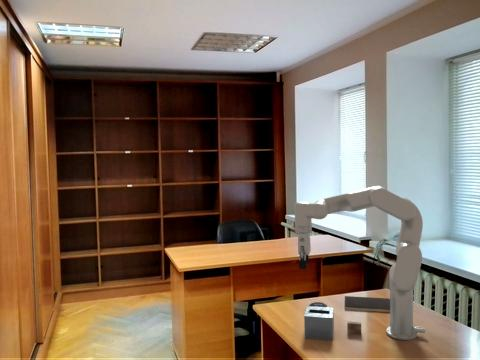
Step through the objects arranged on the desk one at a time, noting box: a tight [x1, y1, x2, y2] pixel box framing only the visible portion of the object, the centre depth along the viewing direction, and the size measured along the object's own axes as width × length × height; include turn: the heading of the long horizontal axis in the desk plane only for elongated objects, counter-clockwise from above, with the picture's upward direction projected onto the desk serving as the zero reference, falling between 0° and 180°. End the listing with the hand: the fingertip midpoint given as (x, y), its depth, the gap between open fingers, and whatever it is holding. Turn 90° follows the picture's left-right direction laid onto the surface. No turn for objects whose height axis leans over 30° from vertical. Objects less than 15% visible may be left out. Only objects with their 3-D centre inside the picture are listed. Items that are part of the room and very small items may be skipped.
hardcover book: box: [344, 295, 390, 313], centre depth 222 cm, size 16×23×2 cm
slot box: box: [303, 305, 335, 342], centre depth 190 cm, size 12×12×10 cm
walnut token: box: [346, 320, 362, 336], centre depth 189 cm, size 6×2×5 cm, turn 75°
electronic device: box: [308, 301, 328, 307], centre depth 216 cm, size 9×6×15 cm
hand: (304, 265), depth 195 cm, fingers open, 9 cm apart
